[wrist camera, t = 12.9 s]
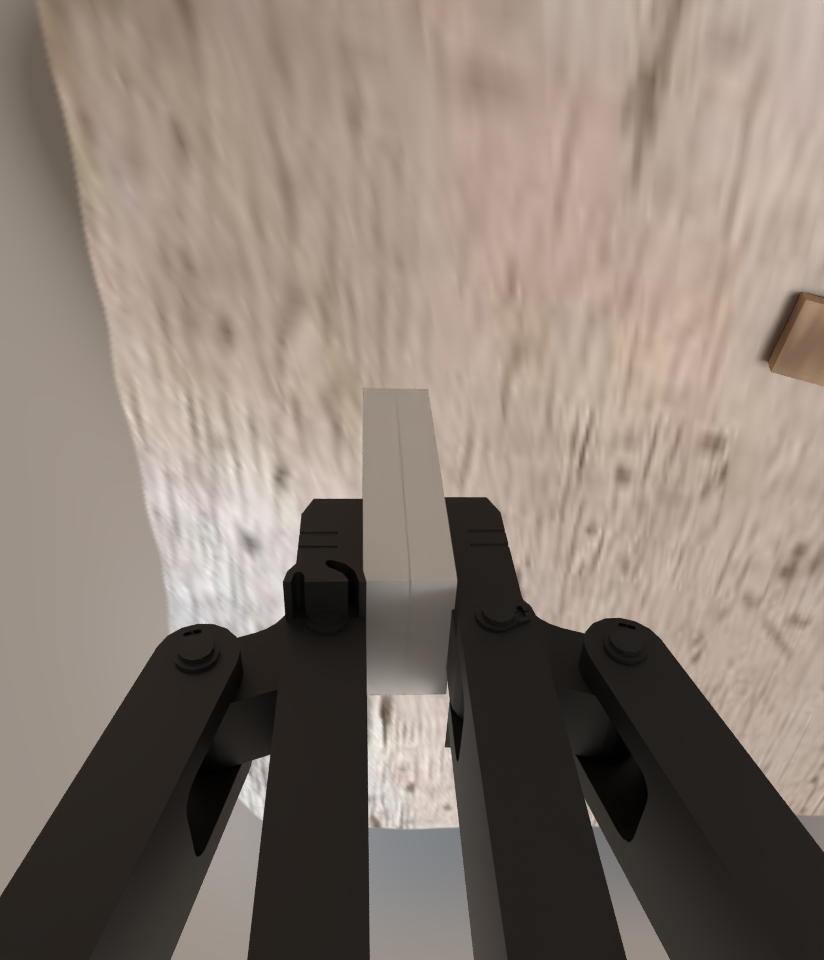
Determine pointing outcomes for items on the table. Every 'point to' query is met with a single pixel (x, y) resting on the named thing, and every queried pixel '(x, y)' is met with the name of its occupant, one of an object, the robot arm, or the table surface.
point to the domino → (802, 342)
